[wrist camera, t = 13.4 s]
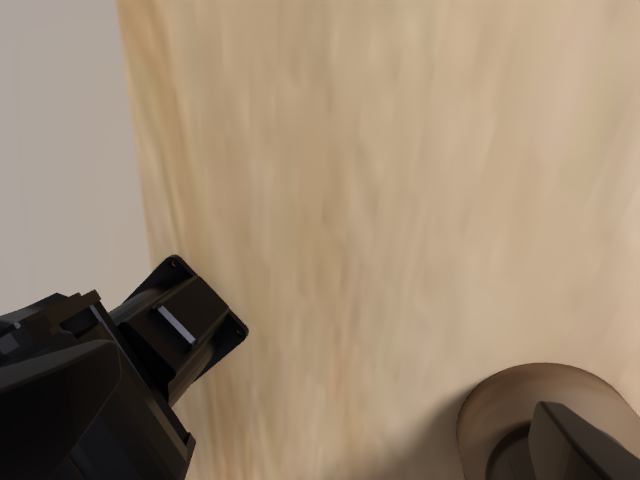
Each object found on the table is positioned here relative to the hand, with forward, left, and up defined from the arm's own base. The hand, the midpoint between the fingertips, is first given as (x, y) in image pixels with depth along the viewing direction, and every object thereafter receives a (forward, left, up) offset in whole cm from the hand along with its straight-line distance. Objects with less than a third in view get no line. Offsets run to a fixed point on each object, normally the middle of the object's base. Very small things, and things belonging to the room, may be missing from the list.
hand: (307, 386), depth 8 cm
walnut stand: (0, -15, -13) cm, 20 cm away
